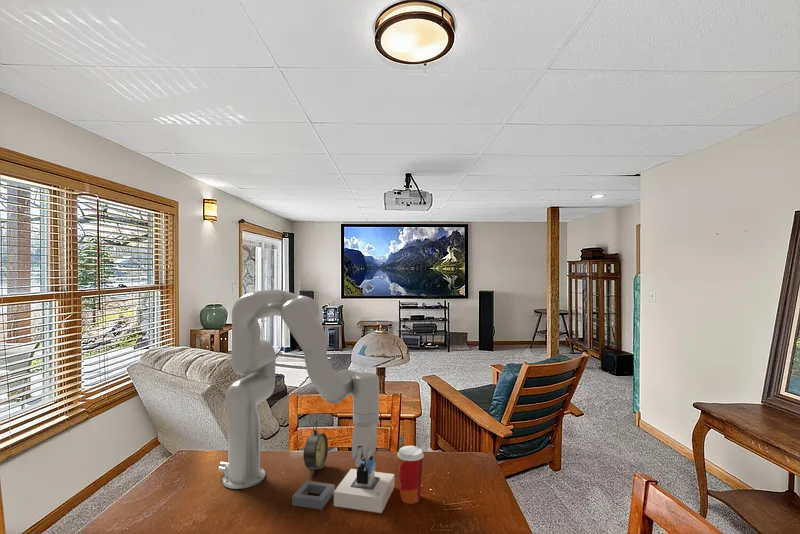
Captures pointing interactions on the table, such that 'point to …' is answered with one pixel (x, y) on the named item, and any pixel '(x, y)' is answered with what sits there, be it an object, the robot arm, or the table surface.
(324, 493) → the grey square frame
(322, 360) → the robot arm
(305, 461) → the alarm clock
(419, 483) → the paper cup
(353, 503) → the port panel
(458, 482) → the table surface
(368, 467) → the plug
